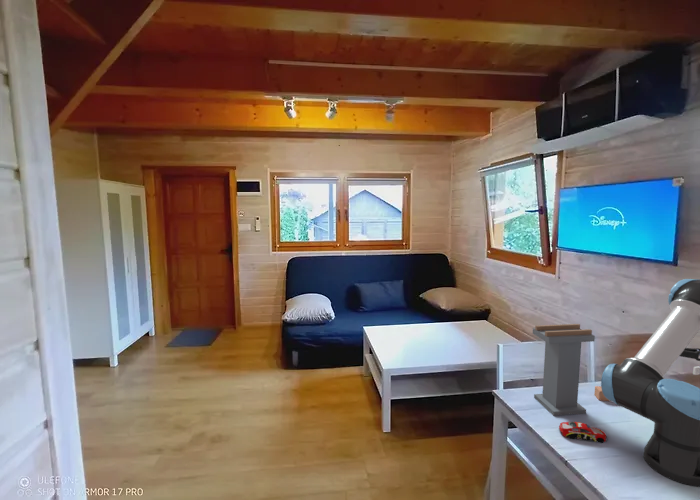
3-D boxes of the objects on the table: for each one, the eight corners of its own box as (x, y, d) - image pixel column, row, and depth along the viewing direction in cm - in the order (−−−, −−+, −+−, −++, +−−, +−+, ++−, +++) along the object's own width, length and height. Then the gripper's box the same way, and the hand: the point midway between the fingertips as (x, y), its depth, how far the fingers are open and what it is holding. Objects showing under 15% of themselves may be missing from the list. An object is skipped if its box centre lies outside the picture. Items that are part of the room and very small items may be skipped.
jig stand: (569, 395, 145) (573, 321, 141) (591, 413, 133) (597, 332, 130) (527, 398, 144) (531, 323, 140) (546, 416, 132) (551, 334, 128)
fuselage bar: (672, 402, 140) (673, 392, 140) (679, 408, 137) (680, 397, 136) (594, 395, 146) (595, 386, 145) (598, 401, 142) (599, 391, 141)
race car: (603, 435, 122) (604, 423, 121) (609, 445, 116) (610, 433, 116) (557, 428, 125) (558, 416, 125) (561, 438, 120) (562, 426, 120)
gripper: (765, 384, 130) (709, 388, 129) (694, 353, 155) (646, 357, 153) (768, 363, 129) (712, 368, 127) (696, 335, 154) (647, 339, 152)
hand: (675, 362), depth 140 cm, fingers open, 13 cm apart
